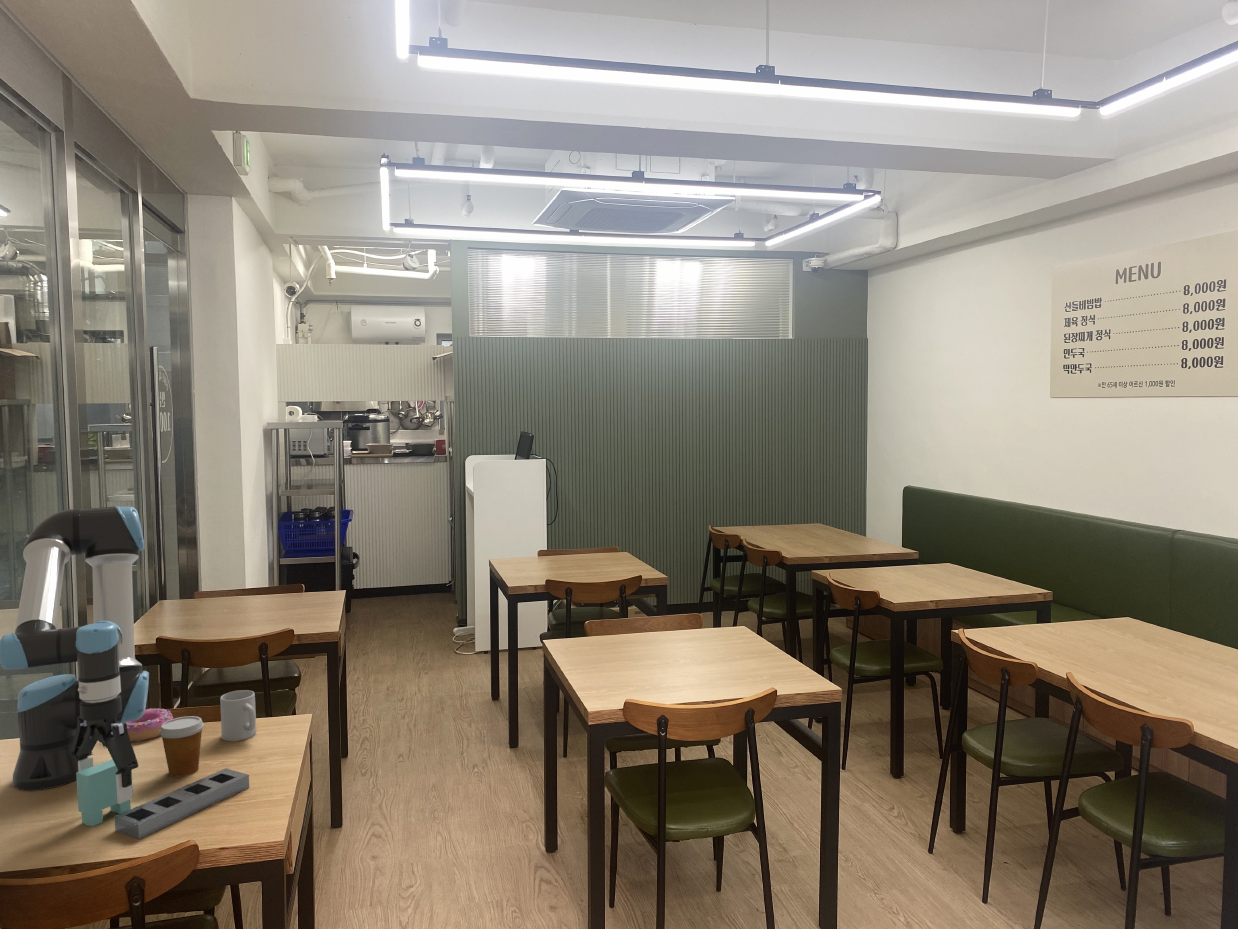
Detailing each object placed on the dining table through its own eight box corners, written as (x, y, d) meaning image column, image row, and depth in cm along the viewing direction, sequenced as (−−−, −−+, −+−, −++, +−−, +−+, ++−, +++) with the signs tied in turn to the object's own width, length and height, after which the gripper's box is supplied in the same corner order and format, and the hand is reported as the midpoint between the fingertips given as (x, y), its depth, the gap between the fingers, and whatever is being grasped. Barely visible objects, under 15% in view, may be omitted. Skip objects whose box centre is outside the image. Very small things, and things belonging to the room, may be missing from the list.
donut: (185, 727, 230) (184, 709, 229) (139, 747, 216) (138, 728, 216) (147, 721, 235) (146, 704, 234) (100, 740, 221) (99, 721, 221)
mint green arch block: (79, 823, 175) (76, 772, 174) (122, 805, 183) (119, 756, 183) (90, 827, 173) (87, 776, 173) (133, 809, 181) (131, 759, 181)
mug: (215, 736, 222) (213, 696, 221) (246, 727, 229) (244, 687, 228) (238, 747, 215) (236, 705, 214) (269, 736, 222) (268, 696, 221)
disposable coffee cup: (187, 781, 195) (184, 731, 194) (152, 778, 197) (149, 728, 196) (214, 764, 204) (212, 716, 203) (180, 761, 206) (178, 714, 205)
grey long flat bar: (115, 830, 172) (114, 816, 172) (226, 780, 195) (225, 768, 195) (139, 839, 168) (138, 825, 168) (249, 787, 191) (248, 774, 191)
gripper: (48, 694, 179) (53, 790, 180) (118, 712, 168) (123, 814, 169) (84, 684, 186) (89, 776, 187) (153, 700, 174) (158, 799, 175)
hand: (105, 794), depth 178 cm, fingers open, 13 cm apart
